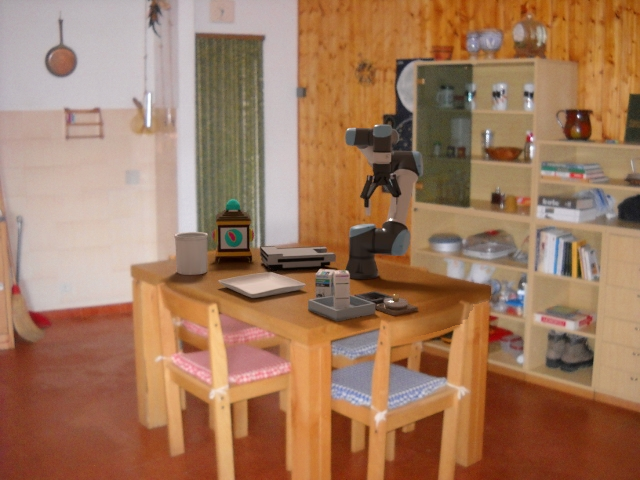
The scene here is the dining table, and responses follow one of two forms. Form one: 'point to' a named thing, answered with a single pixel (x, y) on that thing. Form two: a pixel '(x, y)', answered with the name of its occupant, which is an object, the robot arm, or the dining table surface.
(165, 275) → the dining table surface
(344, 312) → the tray
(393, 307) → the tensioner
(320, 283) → the light bulb box
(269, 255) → the game console
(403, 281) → the dining table surface
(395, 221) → the robot arm
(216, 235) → the decorative lantern
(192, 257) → the utensil holder
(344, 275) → the syrup box
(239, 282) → the square plate
